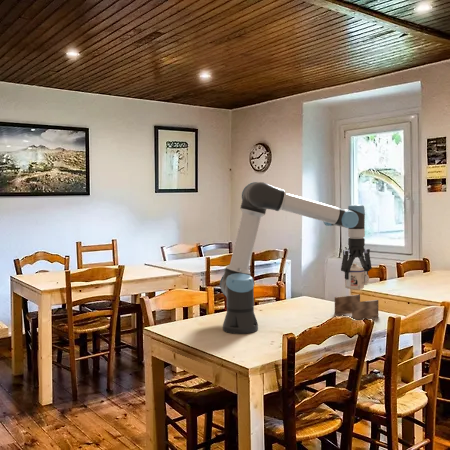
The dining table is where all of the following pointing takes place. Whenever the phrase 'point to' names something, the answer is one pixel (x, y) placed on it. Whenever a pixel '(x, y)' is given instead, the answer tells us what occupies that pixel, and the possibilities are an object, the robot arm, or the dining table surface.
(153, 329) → the dining table surface
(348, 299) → the caddy
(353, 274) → the teacup with lid
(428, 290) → the dining table surface
